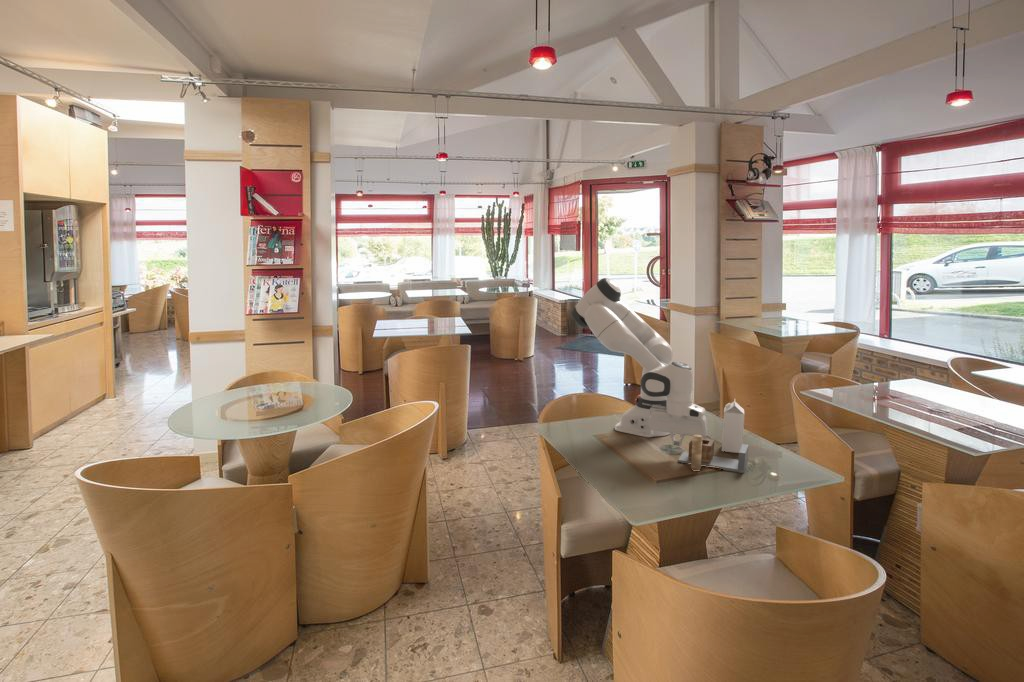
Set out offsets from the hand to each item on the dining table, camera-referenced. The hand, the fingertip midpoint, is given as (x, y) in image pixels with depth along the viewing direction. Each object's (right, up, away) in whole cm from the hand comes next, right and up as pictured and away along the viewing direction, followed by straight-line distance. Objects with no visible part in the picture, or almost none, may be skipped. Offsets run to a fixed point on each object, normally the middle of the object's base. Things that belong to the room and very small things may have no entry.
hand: (677, 445), depth 223 cm
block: (+8, -4, -3) cm, 9 cm away
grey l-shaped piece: (+11, -6, -5) cm, 13 cm away
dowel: (+3, -7, -11) cm, 14 cm away
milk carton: (+23, -4, +10) cm, 25 cm away
